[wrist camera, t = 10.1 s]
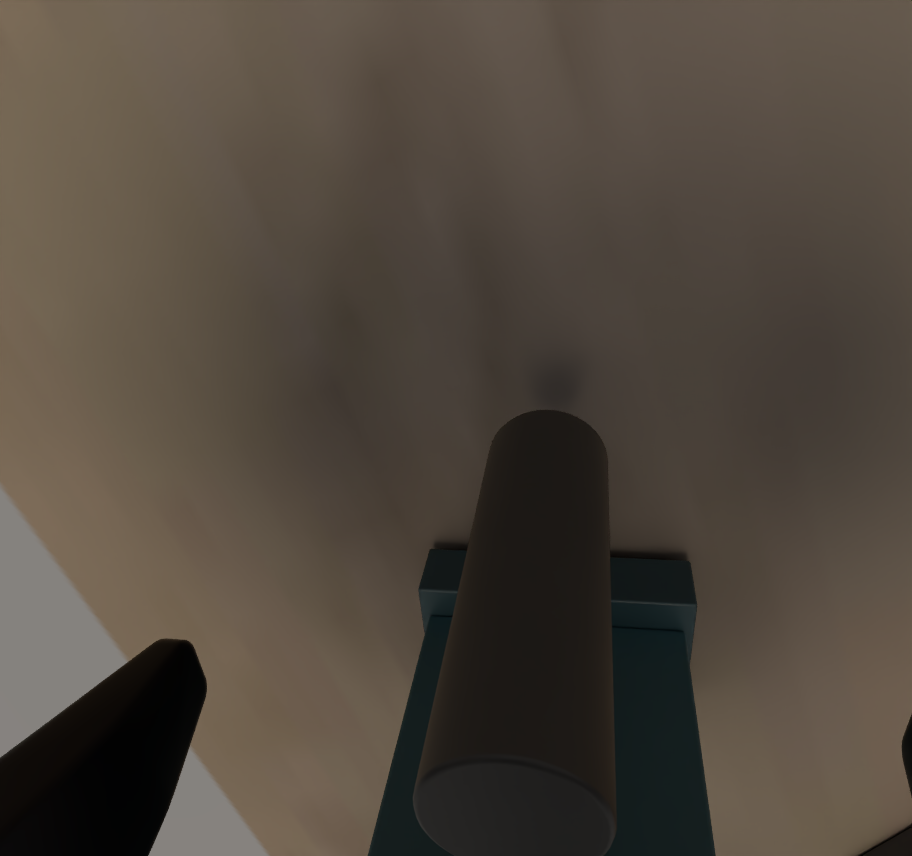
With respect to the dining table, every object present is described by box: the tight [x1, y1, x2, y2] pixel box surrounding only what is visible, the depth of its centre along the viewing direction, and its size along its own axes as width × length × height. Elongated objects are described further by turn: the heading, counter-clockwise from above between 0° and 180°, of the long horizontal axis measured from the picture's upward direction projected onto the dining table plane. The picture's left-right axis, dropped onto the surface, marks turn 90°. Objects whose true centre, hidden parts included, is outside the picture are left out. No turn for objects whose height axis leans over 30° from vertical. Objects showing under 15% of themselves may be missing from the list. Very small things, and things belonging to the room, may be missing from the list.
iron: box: [368, 410, 715, 856], centre depth 13 cm, size 12×7×11 cm
